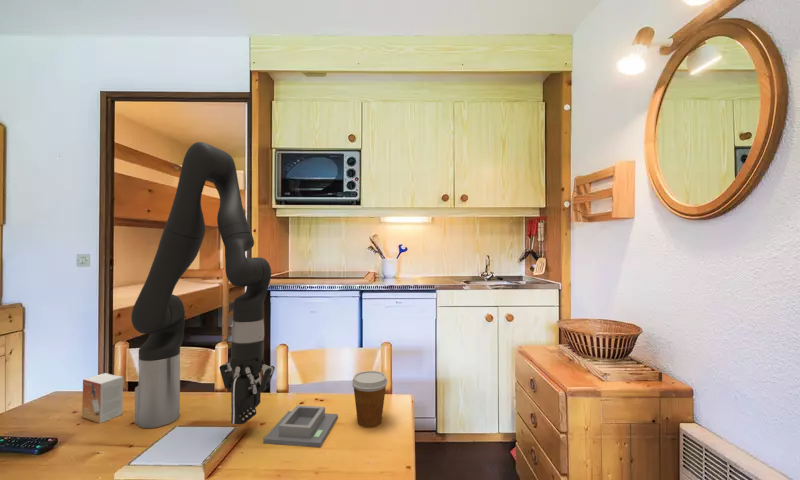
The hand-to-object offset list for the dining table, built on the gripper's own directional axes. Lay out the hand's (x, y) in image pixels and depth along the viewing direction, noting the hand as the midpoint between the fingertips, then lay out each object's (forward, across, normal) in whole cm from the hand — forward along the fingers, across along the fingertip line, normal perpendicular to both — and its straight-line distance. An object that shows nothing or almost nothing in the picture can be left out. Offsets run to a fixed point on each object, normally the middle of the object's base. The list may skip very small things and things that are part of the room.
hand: (246, 405), depth 89 cm
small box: (+8, -44, +3) cm, 44 cm away
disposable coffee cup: (+6, +29, +10) cm, 32 cm away
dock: (+7, +14, +4) cm, 15 cm away
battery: (+4, 0, 0) cm, 4 cm away
